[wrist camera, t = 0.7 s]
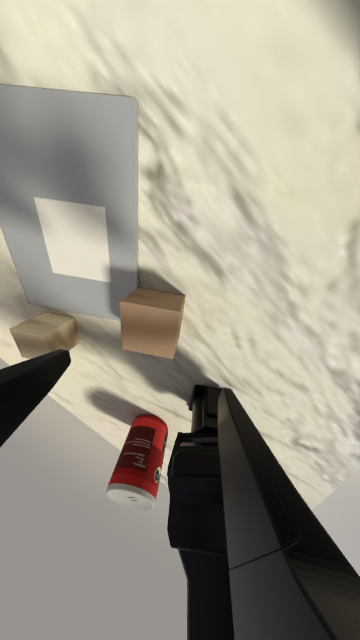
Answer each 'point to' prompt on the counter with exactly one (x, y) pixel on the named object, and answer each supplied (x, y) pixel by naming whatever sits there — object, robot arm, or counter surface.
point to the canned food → (139, 464)
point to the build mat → (70, 196)
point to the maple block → (45, 334)
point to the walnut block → (151, 322)
